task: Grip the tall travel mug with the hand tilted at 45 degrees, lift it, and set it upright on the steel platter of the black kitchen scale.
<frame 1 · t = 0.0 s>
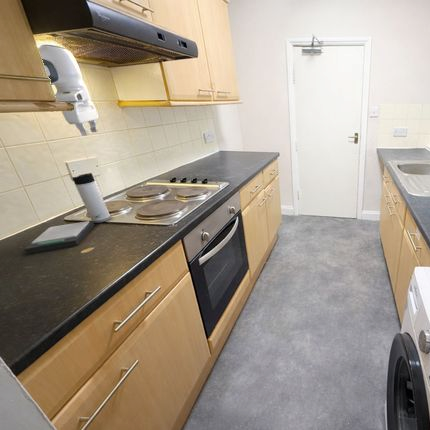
hand: (90, 133, 106), 33 cm above the worktop, tool pointing down, fingers open, 8 cm apart
kitchen scale: (64, 238, 98), on the worktop
travel mug: (102, 220, 111), on the worktop
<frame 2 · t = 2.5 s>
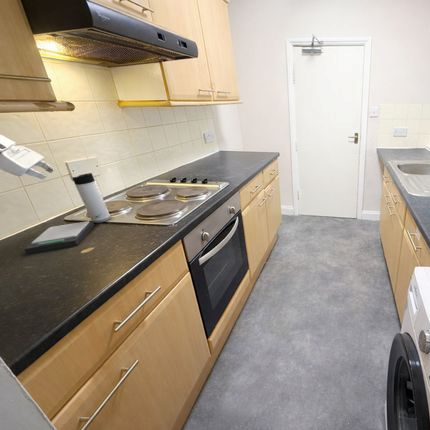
hand: (49, 174, 98), 21 cm above the worktop, tool tilted 40°, fingers open, 8 cm apart
nothing on the worktop moved.
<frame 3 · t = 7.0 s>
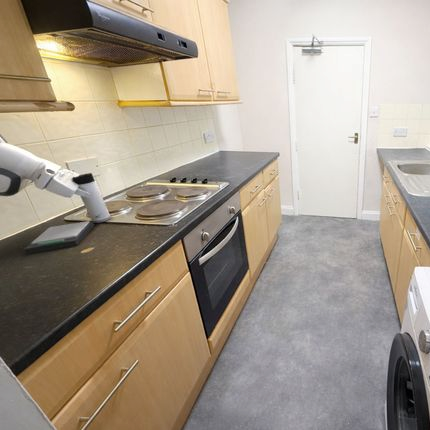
hand: (92, 193, 106), 12 cm above the worktop, tool tilted 45°, fingers closed on travel mug, 6 cm apart
travel mug: (102, 220, 111), on the worktop, touching gripper
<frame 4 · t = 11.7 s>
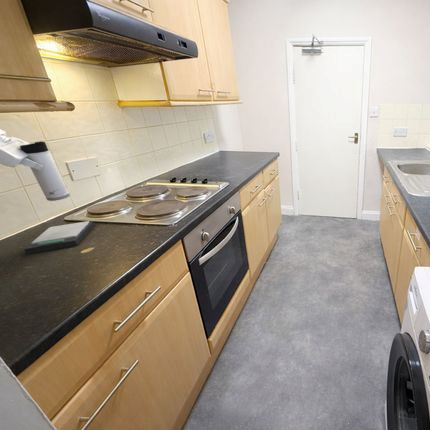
hand: (46, 165, 91), 26 cm above the worktop, tool tilted 45°, fingers closed on travel mug, 6 cm apart
travel mug: (59, 198, 96), point 14 cm above the worktop, touching gripper
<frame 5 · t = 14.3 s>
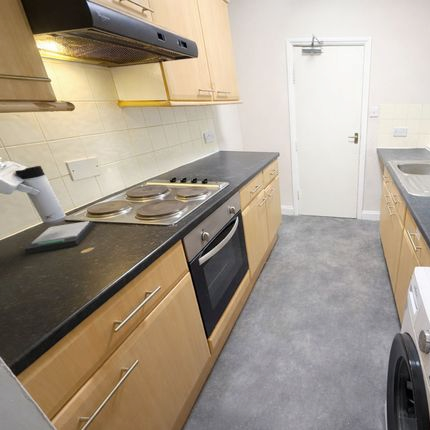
hand: (42, 189, 91), 19 cm above the worktop, tool tilted 45°, fingers closed on travel mug, 6 cm apart
travel mug: (56, 221, 96), point 7 cm above the worktop, touching gripper
when the fingers open (14 cm above the worktop, at t = 16.2 s): travel mug stays where it is, resting on kitchen scale.
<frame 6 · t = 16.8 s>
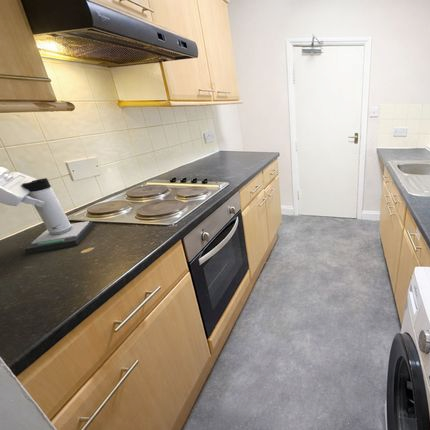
hand: (47, 199, 92), 15 cm above the worktop, tool tilted 45°, fingers open, 8 cm apart
travel mug: (62, 231, 98), point 2 cm above the worktop, touching kitchen scale
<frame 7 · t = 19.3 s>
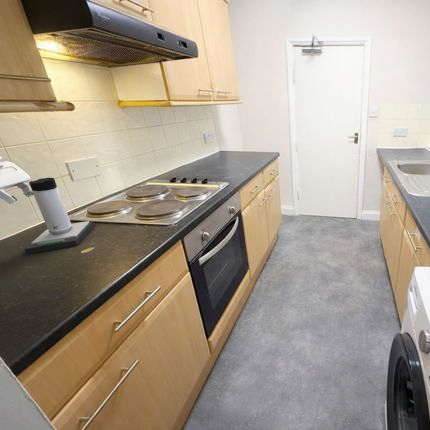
hand: (23, 198, 85), 18 cm above the worktop, tool tilted 25°, fingers open, 8 cm apart
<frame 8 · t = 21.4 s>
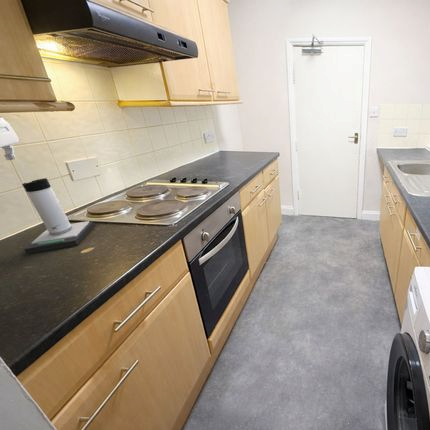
hand: (2, 162, 84), 29 cm above the worktop, tool pointing down, fingers open, 8 cm apart
at the end: travel mug inside the target area on the kitchen scale (0.1 cm from its centre), point 2.4 cm above the kitchen scale's base; travel mug tilted 0°; the gripper is holding nothing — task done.
